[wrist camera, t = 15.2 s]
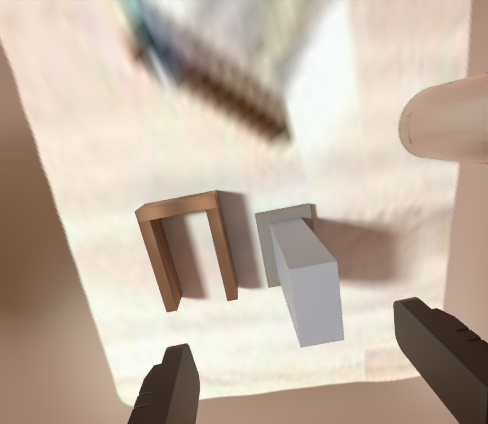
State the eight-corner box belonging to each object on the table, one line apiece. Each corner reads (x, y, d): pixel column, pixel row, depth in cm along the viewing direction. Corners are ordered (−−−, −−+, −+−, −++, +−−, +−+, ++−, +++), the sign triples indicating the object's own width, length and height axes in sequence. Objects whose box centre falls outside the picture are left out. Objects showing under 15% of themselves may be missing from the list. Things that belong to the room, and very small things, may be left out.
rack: (216, 190, 37) (214, 196, 33) (237, 284, 41) (237, 299, 37) (145, 203, 37) (134, 211, 33) (173, 296, 41) (166, 312, 37)
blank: (300, 216, 37) (337, 260, 24) (307, 271, 40) (344, 339, 26) (269, 222, 37) (289, 269, 24) (278, 277, 40) (300, 347, 26)
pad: (308, 203, 38) (310, 205, 37) (317, 275, 41) (319, 278, 40) (254, 213, 38) (255, 215, 37) (267, 284, 41) (268, 287, 40)
